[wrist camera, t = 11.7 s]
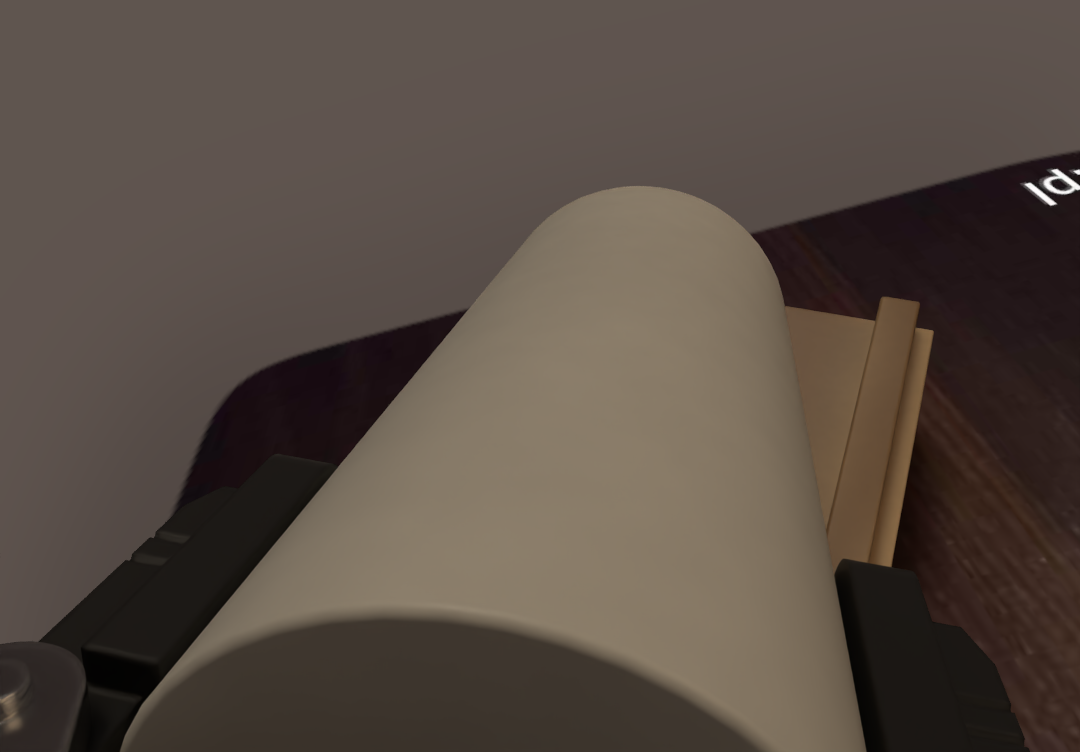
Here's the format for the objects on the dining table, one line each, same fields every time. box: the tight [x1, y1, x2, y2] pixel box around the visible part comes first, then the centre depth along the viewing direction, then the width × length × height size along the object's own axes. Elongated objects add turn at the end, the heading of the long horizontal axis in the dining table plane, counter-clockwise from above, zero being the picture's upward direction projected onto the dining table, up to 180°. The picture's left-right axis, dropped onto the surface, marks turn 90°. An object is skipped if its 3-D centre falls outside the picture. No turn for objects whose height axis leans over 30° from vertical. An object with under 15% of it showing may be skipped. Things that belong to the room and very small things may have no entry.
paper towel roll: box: [120, 186, 867, 752], centre depth 12 cm, size 6×13×6 cm, turn 172°
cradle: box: [785, 297, 934, 574], centre depth 24 cm, size 7×9×5 cm
